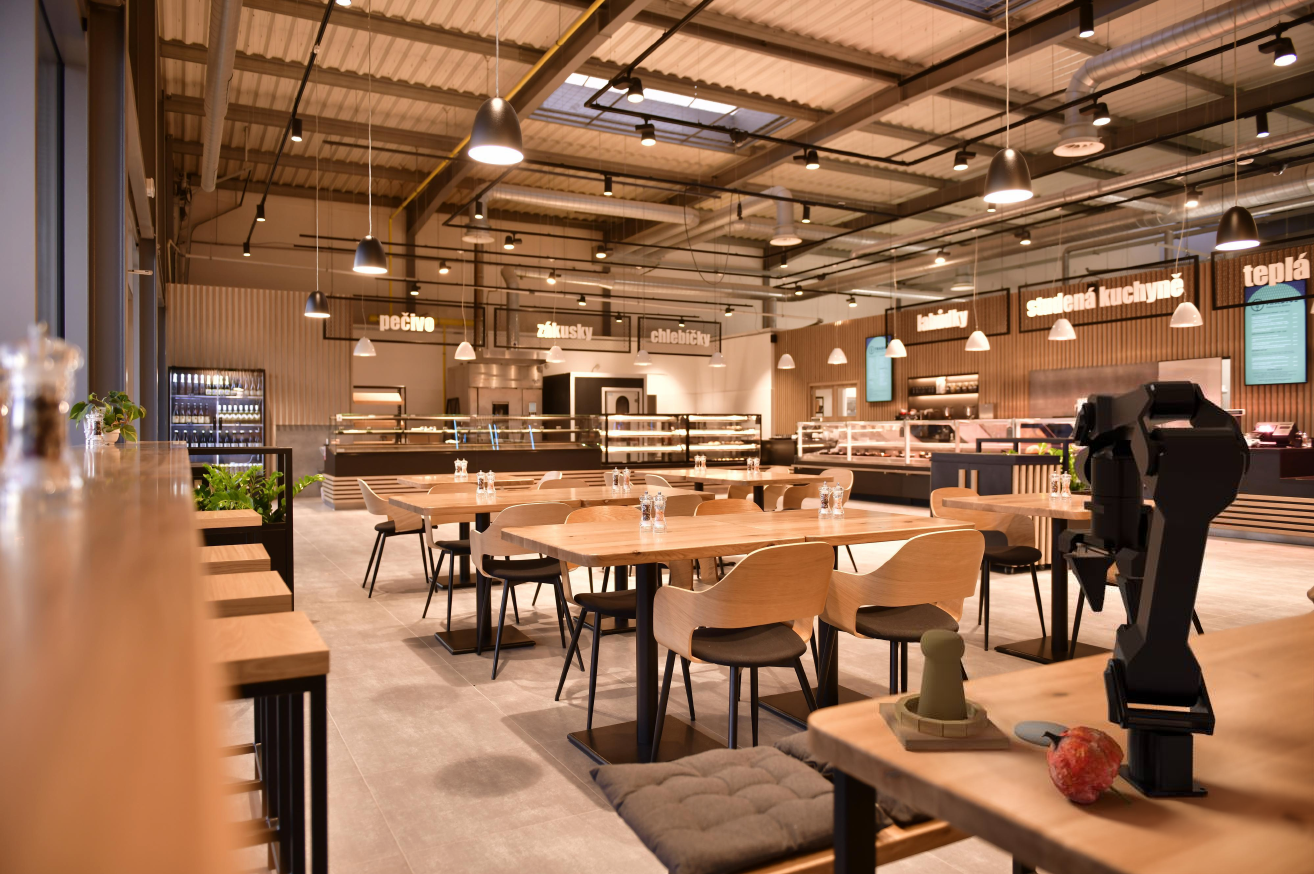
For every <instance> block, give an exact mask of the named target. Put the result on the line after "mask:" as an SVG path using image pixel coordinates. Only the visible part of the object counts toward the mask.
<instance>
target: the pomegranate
mask: <svg viewBox="0 0 1314 874" xmlns="http://www.w3.org/2000/svg"><path fill="white" fill-rule="evenodd" d="M1044 736H1046V737H1049V738H1050V739H1051V740H1052V744H1051V746H1049V747H1048V750H1047V754H1046V764H1047V768H1048V774H1049V776H1050V779H1051V782H1052V784H1054V786H1055V788H1056V789H1057V790H1058V791H1059V792H1060V793H1061V794H1062V795H1063V796H1064V797H1066V798H1067V799H1070V800H1071V801H1073V802H1076V803H1080V804H1081V805H1085V804H1093V803H1094V802H1096V800H1097V799H1098V797H1099V795H1100V791H1107V790H1108V789H1110V790H1111V791H1113V792H1114V793H1116V794H1117V795H1118V796H1120V797H1121V798H1122V799H1124V800H1125V801H1126V802H1127V803H1128V804H1130V805H1131V804H1133V802H1132V801H1131V800H1129V799H1128V798H1127V797H1126V796H1125V795H1124V794H1123V793H1122V792H1121V791H1119V790H1118V789H1116V788H1115V787H1114V786H1113V784H1114V778H1116V777H1118V775H1119V774H1118V772H1119V769H1120V764H1122V762H1123V759H1124V758H1125V754H1124V751H1123V749H1122V748H1121V746H1120V745H1119V743H1118V742H1117V741H1116V740H1115V739H1114V738H1113V737H1112V736H1111V735H1110V734H1108V733H1106V731H1103V730H1099V729H1098V728H1093V727H1087V726H1081V725H1079V726H1076V727H1072V728H1070V730H1066V731H1063V732H1062V733H1061V734H1060V735H1059V736H1057V735H1055V734H1053V733H1050V732H1048V731H1046V732H1045V733H1044V734H1043V735H1042V737H1044Z"/></svg>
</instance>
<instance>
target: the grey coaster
mask: <svg viewBox="0 0 1314 874" xmlns="http://www.w3.org/2000/svg"><path fill="white" fill-rule="evenodd" d="M1070 729H1071V728H1070V727H1068V726H1066V725H1062V724H1059V723H1055V722H1049V721H1043V720H1026V721H1020V722H1018V723H1016V724H1015V725H1014V727H1013V731H1014V734H1015V735H1016V736H1017V737H1018V738H1019V739H1021V740H1024V741H1026V742H1027V743H1028V742H1029V743H1031V744H1035V745H1039V746H1045V747H1050V746H1051V744H1052V740H1051V739H1050V738H1049V737H1046V736H1044V737H1042V735H1043V734H1044V733H1045V732H1046V731H1048V732H1050V733H1053V734H1055V735H1057V736H1059V735H1060V734H1061V733H1062V732H1063V731H1066V730H1070Z"/></svg>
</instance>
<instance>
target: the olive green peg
mask: <svg viewBox="0 0 1314 874" xmlns="http://www.w3.org/2000/svg"><path fill="white" fill-rule="evenodd" d="M919 641H920V642H919V643H920V650H921V654H922V655H923V656H924V660H923V661H924V662H923V663H924V664H923V670H922V677H921V685H920V692H919V693H920V698H919V706H918V713H917V715H918V716H921V717H924V718H929V719H935V720H941V721H962V720H966V719H968V715H967V708H966V701H965V699H966V695H965V688H964V679H963V673H962V665H961V659H962V658H963V657H964V656H965V651H966V645H965V641H964V638H963V637H962V635H961V634H959V633H958V632H956V631H953V630H949V629H940V628H939V629H930V630H927V631H925V632H924V633H923V634H922V635H921V637H920V640H919Z"/></svg>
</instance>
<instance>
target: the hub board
mask: <svg viewBox="0 0 1314 874" xmlns="http://www.w3.org/2000/svg"><path fill="white" fill-rule="evenodd" d="M919 698H920V692H919V693H912V694H909V695H905V696H901V697H899V699H898V700H897V701H896V702H879V703H878V704H879V706H878V710H879V711H878V712H879V714H880V715H881V717H882V718H883V720H884V721H885V722H886V724H887V726H889V728H890V730H891V731H892V733H893V734H894V736H895V737H896V738H897V739H898V741H899V743H900V744H901V746H902V747H903V748H904V750H905V751H924V750H925V751H927V750H929V751H930V750H931V751H932V750H933V751H934V750H936V751H938V750H940V751H942V750H944V751H945V750H952V749H953V750H1009V749H1010V738H1009V737H1008V736H1007V735H1006V734H1005V733H1004V732H1003V731H1002V730H1001V729H1000V728H999V727H998V726H997V725H996V724H995V723H994V722H993V721H992V720H990V718H989V717H988V711H987V710H986V709H985V708H984V707H983V706H982V705H981V704H980V703H978V702H976V701H972V700H970V699H968V698H965V701H966V708H967V715H968V719H966V720H962V721H941V720H935V719H929V718H924V717H921V716H918V715H917V713H918V706H919ZM953 750H952V751H953Z"/></svg>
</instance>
